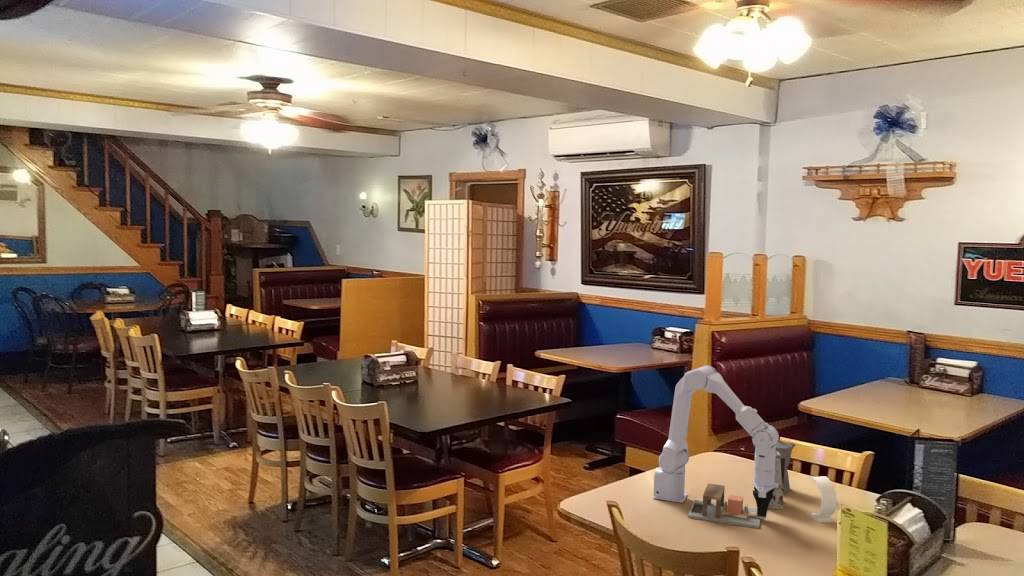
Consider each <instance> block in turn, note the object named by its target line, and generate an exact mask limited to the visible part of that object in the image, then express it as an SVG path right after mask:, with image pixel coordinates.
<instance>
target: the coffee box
mask: <svg viewBox="0 0 1024 576" xmlns="http://www.w3.org/2000/svg"><path fill="white" fill-rule="evenodd" d="M775 454H776V456H775V477H774V483H776V484H778V488H774V492H773V493H772V494H773V497H772V499H771V501H770V503H769V506H768V509H773V510H783V506H784V505H783V504H784V493H783V489H784V471H785V457H784V455H783V454H782V452H781V450H776V451H775Z"/></svg>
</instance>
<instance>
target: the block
mask: <svg viewBox="0 0 1024 576" xmlns="http://www.w3.org/2000/svg"><path fill="white" fill-rule="evenodd" d="M727 505H728V513H735V514H741V515H742V511H743V507H744V496H741V495H733V494H729V495H728V498H727Z"/></svg>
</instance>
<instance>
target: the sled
mask: <svg viewBox="0 0 1024 576" xmlns="http://www.w3.org/2000/svg"><path fill="white" fill-rule="evenodd" d="M727 505H728V501H725V500H724V506H723V510H722V513H721V515H726V516H733V517H739V518H746V519H747V516H748V517H755V518H761V520H767V514H768V513H767V514H766V516H760V515H758V510H757V513H755V512H748V511H749V509H748V508H749V507H748V504H745V505H744V507H745V508H744V509H743V511H742V515H741V514H735V513H728V506H727Z"/></svg>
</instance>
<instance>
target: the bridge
mask: <svg viewBox="0 0 1024 576" xmlns="http://www.w3.org/2000/svg"><path fill="white" fill-rule="evenodd" d="M725 487H726V485H722V484H716V483H707V485H706V487H705V490H704V493H703V495H702V501H703V511H702V516H707V504H709V505H711V502H712V500H714V501H715V503H716V518H720V511H721V506H722V507H723V506H724V503H725Z"/></svg>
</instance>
